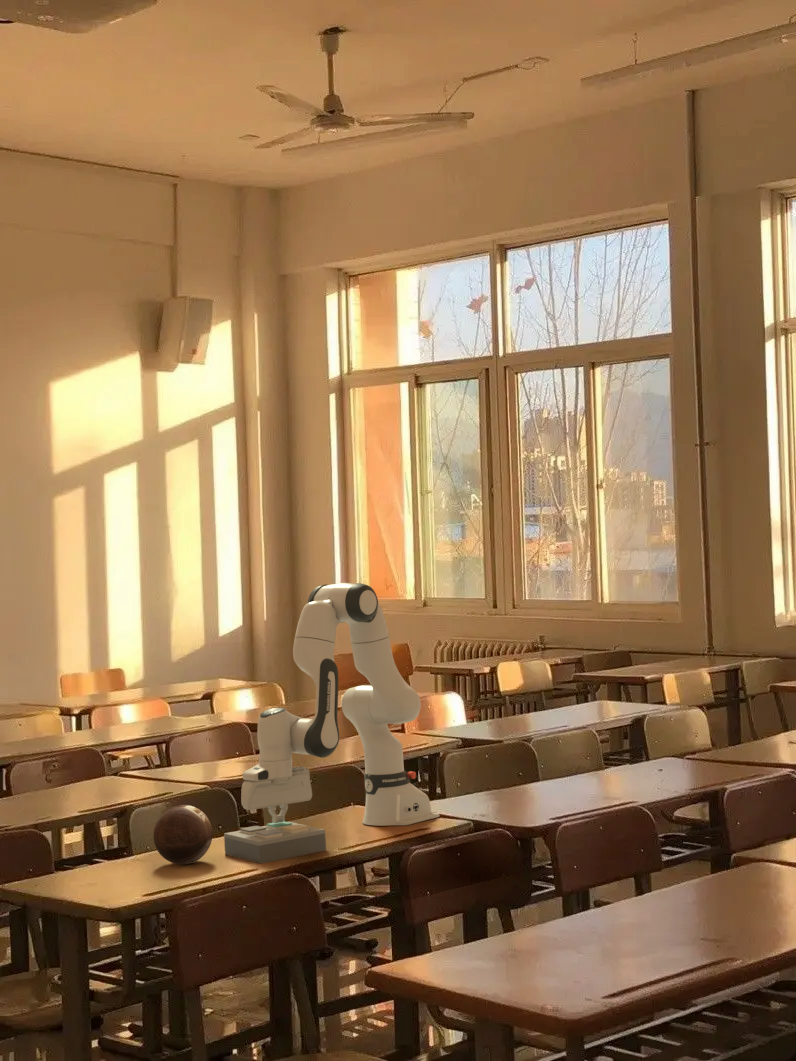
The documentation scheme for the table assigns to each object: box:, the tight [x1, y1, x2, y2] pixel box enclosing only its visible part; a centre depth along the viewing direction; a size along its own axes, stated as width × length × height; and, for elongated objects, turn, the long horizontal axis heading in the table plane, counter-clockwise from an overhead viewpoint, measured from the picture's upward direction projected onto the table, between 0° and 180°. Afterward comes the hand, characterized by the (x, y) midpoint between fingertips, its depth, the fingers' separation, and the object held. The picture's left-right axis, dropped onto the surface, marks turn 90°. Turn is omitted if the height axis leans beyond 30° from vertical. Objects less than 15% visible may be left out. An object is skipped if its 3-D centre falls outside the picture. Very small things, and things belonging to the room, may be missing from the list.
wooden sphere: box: [152, 804, 213, 865], centre depth 385 cm, size 15×15×15 cm
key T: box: [282, 823, 309, 834], centre depth 392 cm, size 5×5×3 cm
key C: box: [265, 820, 292, 830], centre depth 398 cm, size 5×5×3 cm
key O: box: [239, 825, 266, 835], centre depth 394 cm, size 5×5×3 cm
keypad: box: [223, 821, 327, 864], centre depth 393 cm, size 20×18×6 cm
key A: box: [256, 829, 282, 839], centre depth 387 cm, size 5×5×3 cm
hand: (278, 822), depth 398 cm, fingers closed
